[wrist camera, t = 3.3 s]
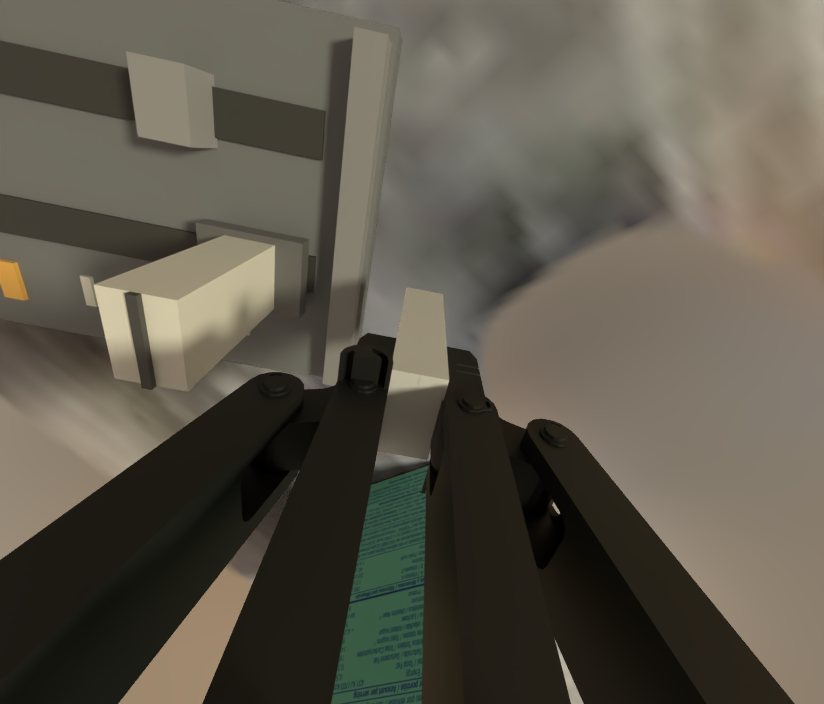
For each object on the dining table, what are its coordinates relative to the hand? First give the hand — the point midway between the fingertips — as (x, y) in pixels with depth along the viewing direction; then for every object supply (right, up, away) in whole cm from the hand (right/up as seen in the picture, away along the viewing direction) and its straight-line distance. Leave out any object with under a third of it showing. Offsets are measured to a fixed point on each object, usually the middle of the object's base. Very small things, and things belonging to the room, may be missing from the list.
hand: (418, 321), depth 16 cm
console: (-14, +7, +3) cm, 16 cm away
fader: (-7, +3, +3) cm, 9 cm away
